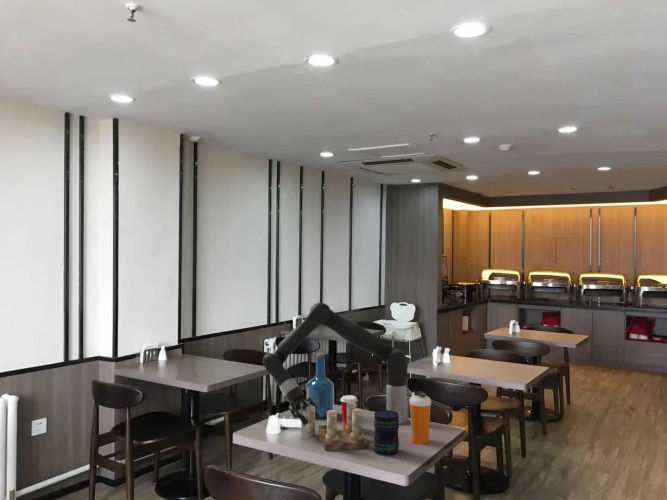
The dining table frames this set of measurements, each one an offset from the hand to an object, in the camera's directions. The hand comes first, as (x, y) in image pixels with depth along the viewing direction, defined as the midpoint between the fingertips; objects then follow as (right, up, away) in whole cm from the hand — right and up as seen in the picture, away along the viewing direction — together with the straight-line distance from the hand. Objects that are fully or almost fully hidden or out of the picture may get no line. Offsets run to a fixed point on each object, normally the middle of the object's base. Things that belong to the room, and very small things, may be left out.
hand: (312, 421), depth 237 cm
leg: (-1, -6, +1) cm, 6 cm away
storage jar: (+30, -6, -20) cm, 36 cm away
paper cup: (+16, -6, +10) cm, 20 cm away
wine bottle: (+2, -7, +31) cm, 32 cm away
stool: (+12, -6, -9) cm, 16 cm away
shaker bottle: (+45, -6, -7) cm, 46 cm away
